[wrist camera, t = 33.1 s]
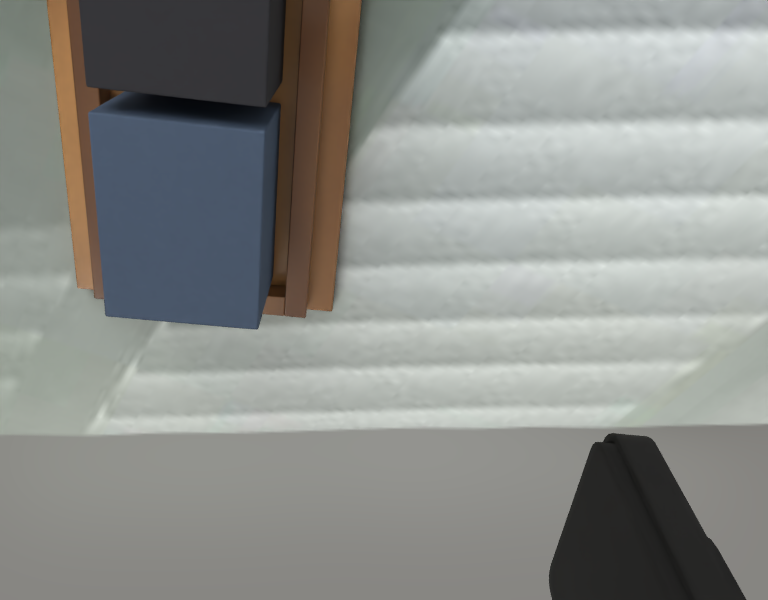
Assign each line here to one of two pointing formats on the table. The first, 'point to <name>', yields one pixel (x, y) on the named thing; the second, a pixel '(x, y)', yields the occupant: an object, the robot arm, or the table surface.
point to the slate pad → (185, 207)
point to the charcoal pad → (186, 48)
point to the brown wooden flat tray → (296, 148)
